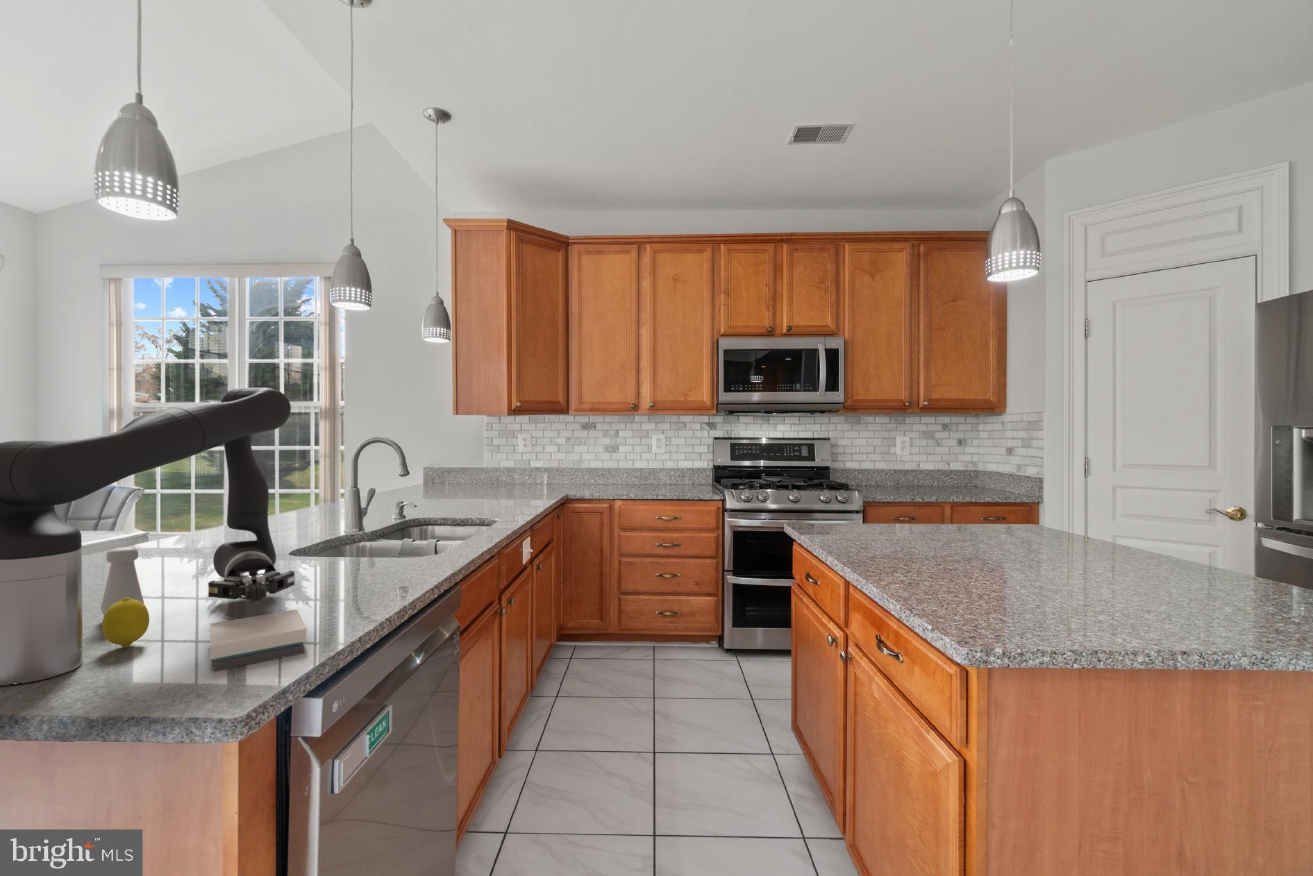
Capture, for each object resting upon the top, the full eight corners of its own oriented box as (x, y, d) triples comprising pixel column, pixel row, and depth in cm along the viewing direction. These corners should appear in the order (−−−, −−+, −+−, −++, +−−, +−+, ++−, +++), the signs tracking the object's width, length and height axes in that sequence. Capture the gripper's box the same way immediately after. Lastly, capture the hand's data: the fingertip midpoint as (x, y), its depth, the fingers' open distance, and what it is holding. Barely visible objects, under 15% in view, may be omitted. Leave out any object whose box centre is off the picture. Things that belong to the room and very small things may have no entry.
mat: (214, 671, 82) (214, 664, 82) (214, 648, 91) (214, 641, 91) (303, 652, 89) (303, 646, 89) (295, 632, 97) (295, 627, 97)
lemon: (120, 655, 87) (120, 603, 87) (92, 652, 89) (92, 601, 88) (158, 642, 93) (158, 593, 93) (131, 639, 94) (131, 591, 94)
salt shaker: (135, 621, 103) (134, 550, 103) (94, 625, 101) (93, 552, 100) (149, 612, 108) (149, 544, 108) (111, 615, 106) (110, 546, 106)
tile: (209, 639, 92) (210, 663, 82) (209, 623, 92) (210, 645, 82) (297, 623, 99) (306, 643, 90) (297, 609, 99) (306, 628, 90)
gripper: (204, 558, 102) (204, 578, 88) (291, 549, 110) (303, 566, 96) (205, 600, 102) (204, 626, 88) (292, 587, 110) (304, 610, 96)
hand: (256, 595), depth 92 cm, fingers closed
